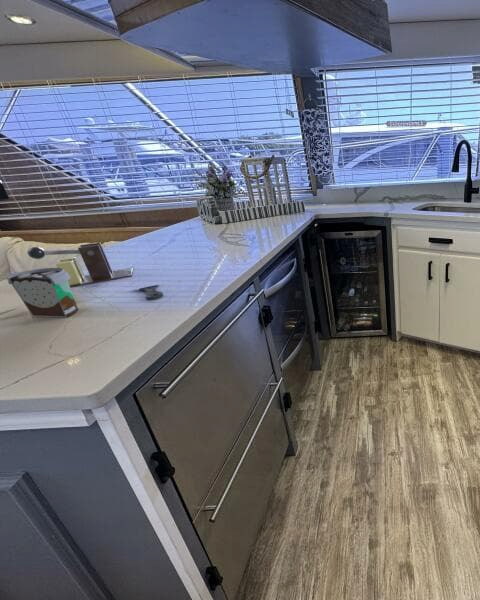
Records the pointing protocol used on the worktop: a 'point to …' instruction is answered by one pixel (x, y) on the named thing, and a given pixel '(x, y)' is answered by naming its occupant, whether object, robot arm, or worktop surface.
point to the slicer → (99, 266)
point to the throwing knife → (151, 292)
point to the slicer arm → (48, 252)
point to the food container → (45, 292)
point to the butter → (72, 269)
